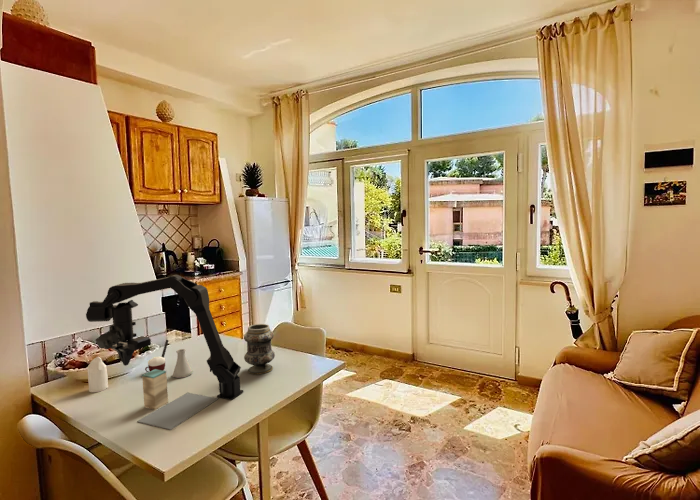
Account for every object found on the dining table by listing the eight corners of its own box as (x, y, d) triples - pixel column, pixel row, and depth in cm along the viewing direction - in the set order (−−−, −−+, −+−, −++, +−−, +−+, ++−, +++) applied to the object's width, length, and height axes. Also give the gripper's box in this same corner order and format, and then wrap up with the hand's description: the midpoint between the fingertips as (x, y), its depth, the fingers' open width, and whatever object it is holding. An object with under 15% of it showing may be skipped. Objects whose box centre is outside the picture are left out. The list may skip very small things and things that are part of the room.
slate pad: (218, 399, 128) (217, 398, 128) (170, 430, 110) (170, 429, 110) (187, 393, 133) (187, 392, 133) (137, 421, 115) (137, 421, 115)
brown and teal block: (168, 402, 127) (166, 371, 126) (155, 409, 122) (153, 377, 121) (157, 400, 129) (155, 369, 128) (144, 407, 124) (142, 375, 123)
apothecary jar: (279, 364, 158) (277, 322, 157) (270, 376, 146) (268, 330, 145) (251, 363, 159) (249, 322, 158) (240, 375, 147) (237, 330, 146)
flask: (185, 379, 146) (183, 353, 145) (168, 378, 147) (166, 353, 146) (196, 371, 153) (194, 347, 152) (180, 370, 154) (178, 346, 153)
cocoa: (146, 377, 149) (142, 348, 147) (145, 371, 154) (142, 343, 152) (172, 371, 153) (169, 343, 151) (171, 365, 159) (168, 338, 157)
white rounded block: (83, 361, 134) (89, 355, 139) (86, 393, 135) (92, 387, 140) (103, 358, 136) (107, 353, 141) (105, 390, 137) (110, 384, 142)
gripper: (80, 324, 124) (84, 370, 125) (119, 329, 117) (123, 378, 118) (112, 316, 134) (115, 358, 135) (150, 320, 127) (153, 365, 129)
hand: (126, 365), depth 129 cm, fingers closed
